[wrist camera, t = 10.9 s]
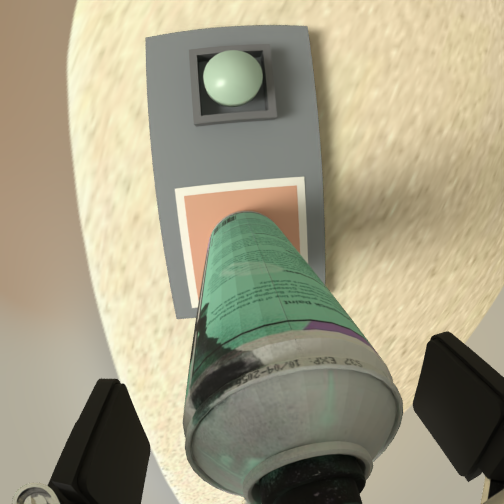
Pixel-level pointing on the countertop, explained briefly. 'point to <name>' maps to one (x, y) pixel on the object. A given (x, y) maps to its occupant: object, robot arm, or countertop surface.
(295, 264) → the spray can
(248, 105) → the picture board
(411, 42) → the countertop surface
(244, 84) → the button
